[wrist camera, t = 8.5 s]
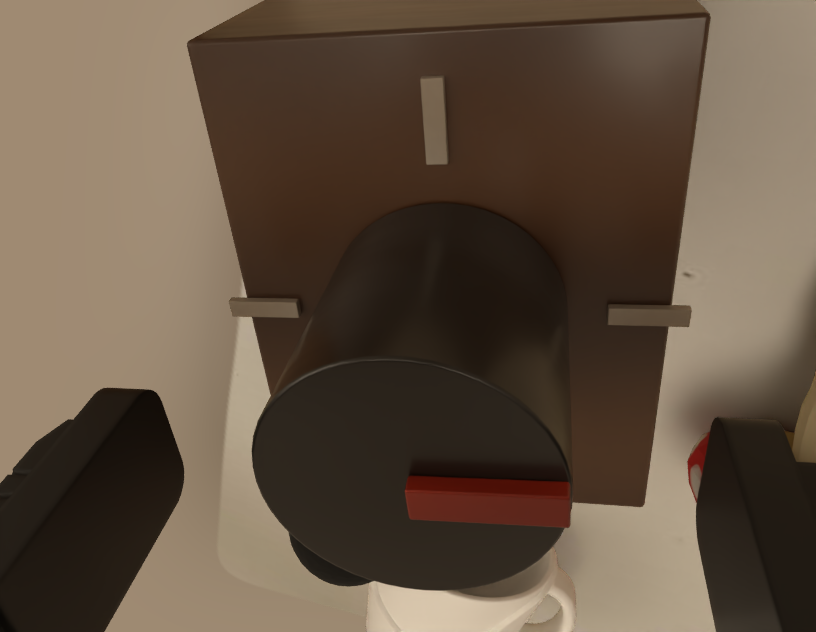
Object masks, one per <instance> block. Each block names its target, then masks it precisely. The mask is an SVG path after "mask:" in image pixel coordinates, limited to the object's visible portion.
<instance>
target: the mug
mask: <svg viewBox="0 0 816 632" xmlns="http://www.w3.org/2000/svg"><path fill="white" fill-rule="evenodd" d="M546 595H550V596H552V597H554V598H555V599H556V600H557V601H558V602H559V603H560V604H561V607H560V609H559V611H558V613H557V614H556V615H555V616H554V617H553V618H552V619H550V620H548V621H546V622H543V623H535V624H533V623H526V621H527V620H528V619H529V617H530V616H531V615H532V613H533V612H534V611H535V609H536V608H537V607H538V605H539V604H540V603H541V601H542V600H543V599H544V597H545V596H546ZM575 622H576V594H575V588H574V585H573V582H572V580H571V579H570V577H569V576H568V575H567V573H566V572H565V571H563V570H562V569H561V568H559V567H558V560H557V555H556V551H555V549H554V547H552V548H551V549H550V550H549V551H548V552H547V553H546V554H545V555H544V556H543V557H542V558H541V559H540V560H539V561H537V562H536V563H534V564H533V565H531V566H530V567H529V568H527V569H526V570H524V571H522V572H520V573H518V574H516V575H514V576H512V577H510V578H507V579H504V580H502V581H499V582H496V583H493V584H489V585H485V586H481V587H476V588H470V589H463V590H449V591H430V590H417V589H408V588H402V587H397V586H392V585H387V584H383V583H380V582H376V581H373V582H369V592H368V607H367V622H366V632H572V631H573V629H574V626H575Z"/></svg>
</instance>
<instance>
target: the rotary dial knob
mask: <svg viewBox="0 0 816 632" xmlns="http://www.w3.org/2000/svg"><path fill="white" fill-rule="evenodd" d="M252 461H253V469H254V474H255V478H256V482H257V484H258V487H259V489H260V492H261V494H262V496H263V498H264V500H265V502H266V503H267V505H268V507H269V509H270V510H271V511H272V513H273V514H274V515H275V517H276V518H277V519H278V521H279V522H280V523H281V524H282V525H283V526H284V527H285V528H286V530H287V531H288V532H289V533H290V534H291V535H292V536H294V537H295V538H296V539H297V540H298V541H299V542H301V543H302V544H303V545H304V546H305V547H307V548H308V549H310V550H311V551H312V552H314V553H315V554H317V555H318V556H320V557H321V558H323V559H325V560H327V561H328V562H330V563H332V564H334V565H335V566H338V567H340V568H342V569H344V570H346V571H348V572H350V573H353V574H355V575H358V576H361V577H364V578H366V579H369V580H373V581H376V582H380V583H383V584H387V585H392V586H397V587H402V588H408V589H417V590H430V591H449V590H463V589H470V588H476V587H481V586H485V585H489V584H493V583H496V582H499V581H502V580H504V579H507V578H510V577H512V576H514V575H516V574H518V573H520V572H522V571H524V570H526V569H527V568H529V567H530V566H531V565H533V564H534V563H536V562H537V561H539V560H540V559H541V558H542V557H543V556H544V555H545V554H546V553H547V552H548V551H549V550H550V549H551V548H552V547H553V545H554V544H555V543H556V542H557V540H558V539H559V538H560V536H561V534H562V532H563V530H564V528H568V527H570V513H571V509H572V502H573V463H572V431H571V400H570V368H569V336H568V308H567V297H566V293H565V288H564V284H563V282H562V279H561V277H560V274H559V272H558V270H557V268H556V266H555V265H554V263H553V261H552V260H551V258H550V257H549V255H548V254H547V253H546V252H545V250H544V249H543V248H542V247H541V245H540V244H539V243H538V242H536V241H535V240H534V239H533V238H532V237H531V236H530V235H529V234H528V233H526V232H525V231H524V230H522V229H521V228H520V227H518V226H517V225H515V224H514V223H512V222H510V221H508V220H506V219H505V218H503V217H501V216H498V215H496V214H493V213H491V212H488V211H486V210H482V209H479V208H475V207H471V206H466V205H459V204H448V203H434V204H424V205H417V206H413V207H408V208H404V209H401V210H398V211H396V212H393V213H390V214H388V215H386V216H384V217H382V218H381V219H379V220H377V221H375V222H374V223H372V224H371V225H370V226H368V227H367V228H366V229H364V230H363V231H362V232H361V233H360V234H359V235H358V236H357V237H356V238H355V239H354V240H353V241H352V243H351V244H350V245H349V247H348V248H347V249H346V251H345V252H344V254H343V256H342V258H341V260H340V262H339V264H338V266H337V268H336V270H335V272H334V274H333V276H332V277H331V279H330V281H329V283H328V285H327V287H326V289H325V291H324V293H323V295H322V297H321V299H320V301H319V303H318V305H317V307H316V309H315V311H314V313H313V315H312V317H311V318H310V320H309V322H308V324H307V326H306V328H305V330H304V332H303V334H302V336H301V338H300V340H299V342H298V344H297V346H296V348H295V350H294V352H293V354H292V356H291V357H290V359H289V361H288V363H287V365H286V367H285V369H284V371H283V373H282V375H281V377H280V379H279V381H278V383H277V385H276V387H275V389H274V391H273V393H272V395H271V397H270V398H269V400H268V402H267V404H266V406H265V408H264V410H263V412H262V414H261V416H260V418H259V420H258V422H257V426H256V429H255V432H254V435H253V444H252Z"/></svg>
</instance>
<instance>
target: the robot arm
mask: <svg viewBox="0 0 816 632" xmlns="http://www.w3.org/2000/svg"><path fill="white" fill-rule="evenodd" d="M183 483H184V466H183V462H182V458H181V455H180V452H179V450H178V447H177V444H176V441H175V438H174V435H173V432H172V430H171V427H170V424H169V421H168V418H167V416H166V413H165V410H164V407H163V404H162V401H161V399H160V397H159V396H158V394H157V393H156V392H154V391H152V390H144V389H122V388H103V389H101V390H99V391H98V392H96V393H95V394H94V396H93V397H92V398H91V399H90V400H89V402H88V403H87V404H86V405H85V406H84V408H83V409H82V410H81V411H80V412H79V414H78V415H77V416H76V417H75V418H74V420H67V421H65V422H64V423H62V424H61V425H60V426H58V427H57V428H55V429H54V430H52V431H51V432H50V433H48V434H47V435H46V436H44V437H43V438H41V439H40V440H38V441H37V442H36V443H35V444H34V445H33V446H32V447H31V449H30V450H29V451H28V452H27V453H26V454H25V455H24V457H23V458H22V459H21V460H20V461H19V462H18V464H17V465H16V466H15V467H14V468H13V473H12V475H7V476H6V477H5V479H4V480H3V481H2V482H1V483H0V632H104V631H105V630H106V628H107V626H108V624H109V622H110V620H111V619H112V617H113V615H114V614H115V612H116V610H117V609H118V607H119V605H120V603H121V601H122V600H123V598H124V596H125V594H126V593H127V591H128V589H129V587H130V585H131V584H132V582H133V580H134V579H135V577H136V575H137V573H138V571H139V570H140V568H141V566H142V564H143V563H144V561H145V559H146V557H147V556H148V554H149V552H150V550H151V549H152V547H153V545H154V543H155V542H156V540H157V538H158V536H159V535H160V533H161V531H162V529H163V528H164V526H165V524H166V522H167V520H168V519H169V517H170V515H171V514H172V512H173V510H174V508H175V507H176V505H177V503H178V501H179V498H180V496H181V492H182V488H183ZM696 528H697V538H698V545H699V550H700V555H701V560H702V565H703V570H704V575H705V579H706V584H707V589H708V594H709V599H710V604H711V609H712V614H713V619H714V623H715V628H716V632H816V463H811V462H796V459H795V457H794V454H793V452H792V449H791V447H790V444H789V441H788V439H787V436H786V434H785V431H784V429H783V427H782V425H781V424H780V422H779V421H777V420H765V419H743V418H721V417H717V418H715V419H714V421H713V423H712V426H711V430H710V435H709V440H708V445H707V450H706V455H705V461H704V466H703V471H702V476H701V481H700V486H699V491H698V497H697V506H696Z"/></svg>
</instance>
